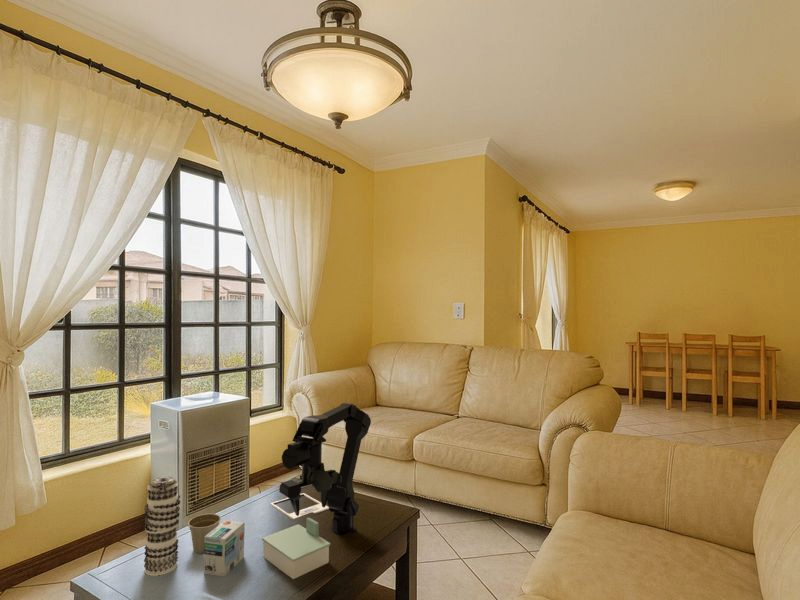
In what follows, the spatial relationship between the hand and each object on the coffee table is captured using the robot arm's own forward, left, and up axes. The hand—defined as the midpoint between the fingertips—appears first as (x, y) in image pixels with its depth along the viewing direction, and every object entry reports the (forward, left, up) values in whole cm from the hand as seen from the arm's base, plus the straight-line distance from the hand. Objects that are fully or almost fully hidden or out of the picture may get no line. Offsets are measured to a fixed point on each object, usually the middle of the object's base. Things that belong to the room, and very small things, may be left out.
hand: (310, 511), depth 140 cm
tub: (+5, 0, -13) cm, 14 cm away
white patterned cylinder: (+34, -24, -13) cm, 44 cm away
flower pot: (+21, -26, -13) cm, 36 cm away
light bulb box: (+21, -12, -13) cm, 28 cm away
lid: (+5, 0, -8) cm, 10 cm away
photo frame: (-17, -31, -14) cm, 37 cm away
